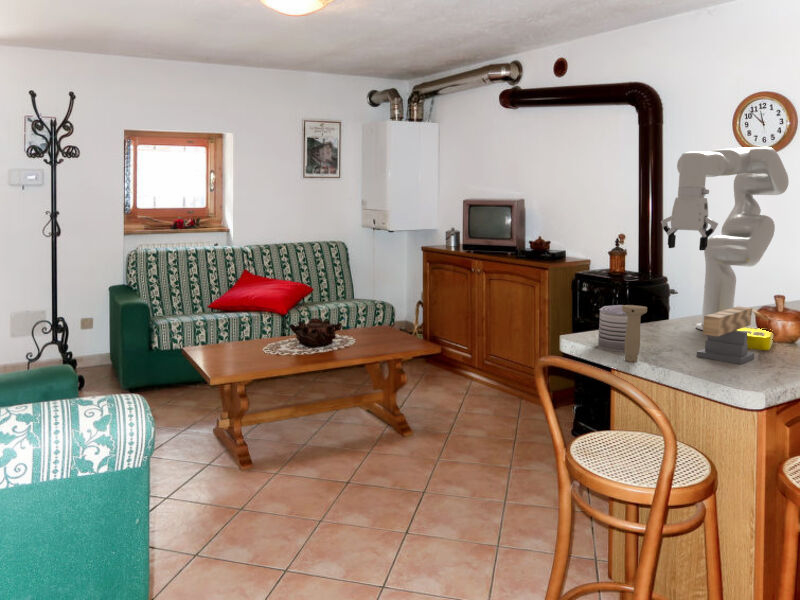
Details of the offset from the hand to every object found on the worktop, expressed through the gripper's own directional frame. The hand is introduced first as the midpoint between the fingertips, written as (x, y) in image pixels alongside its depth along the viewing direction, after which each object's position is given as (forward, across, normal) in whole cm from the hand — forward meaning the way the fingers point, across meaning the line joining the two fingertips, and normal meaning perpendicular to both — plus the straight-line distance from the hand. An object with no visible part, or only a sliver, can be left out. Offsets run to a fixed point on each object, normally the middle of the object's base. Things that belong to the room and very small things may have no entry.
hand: (686, 248), depth 221 cm
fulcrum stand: (+28, -20, +16) cm, 38 cm away
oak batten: (+20, -20, +16) cm, 33 cm away
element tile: (+29, -16, -8) cm, 34 cm away
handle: (+28, -4, +40) cm, 49 cm away
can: (+29, +7, +27) cm, 40 cm away
